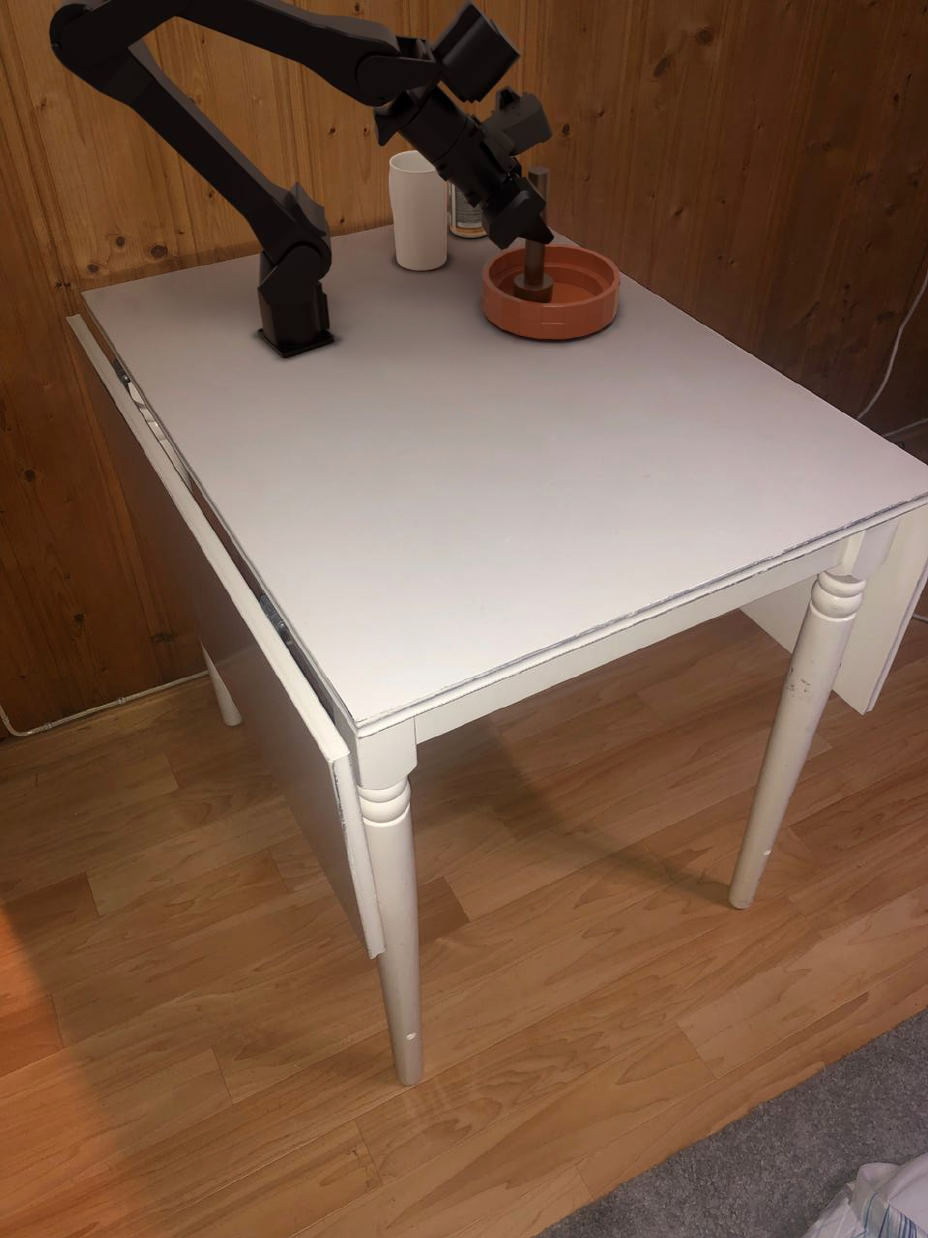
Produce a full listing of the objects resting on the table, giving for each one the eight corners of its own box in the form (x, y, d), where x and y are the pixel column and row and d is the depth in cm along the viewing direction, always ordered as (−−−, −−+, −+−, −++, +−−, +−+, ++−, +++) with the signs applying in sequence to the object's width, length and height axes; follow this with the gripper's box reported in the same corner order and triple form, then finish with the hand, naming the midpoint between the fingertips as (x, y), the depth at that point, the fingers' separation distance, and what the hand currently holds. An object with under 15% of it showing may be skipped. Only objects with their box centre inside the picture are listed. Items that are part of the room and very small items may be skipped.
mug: (459, 262, 126) (458, 163, 118) (413, 277, 123) (409, 176, 115) (415, 234, 132) (412, 137, 124) (371, 247, 129) (364, 149, 121)
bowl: (536, 358, 110) (538, 320, 106) (456, 302, 119) (456, 265, 116) (643, 318, 116) (648, 281, 113) (559, 268, 125) (562, 232, 122)
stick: (551, 307, 113) (559, 179, 103) (511, 305, 113) (516, 177, 103) (553, 289, 116) (561, 162, 106) (514, 287, 116) (519, 161, 106)
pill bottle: (501, 229, 133) (503, 150, 126) (472, 243, 130) (472, 163, 123) (469, 217, 136) (469, 139, 129) (440, 230, 133) (438, 152, 126)
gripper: (529, 101, 91) (632, 213, 100) (482, 41, 104) (577, 145, 113) (444, 198, 95) (550, 296, 104) (408, 128, 108) (506, 222, 117)
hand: (547, 235), depth 110 cm, fingers closed on stick, 2 cm apart
